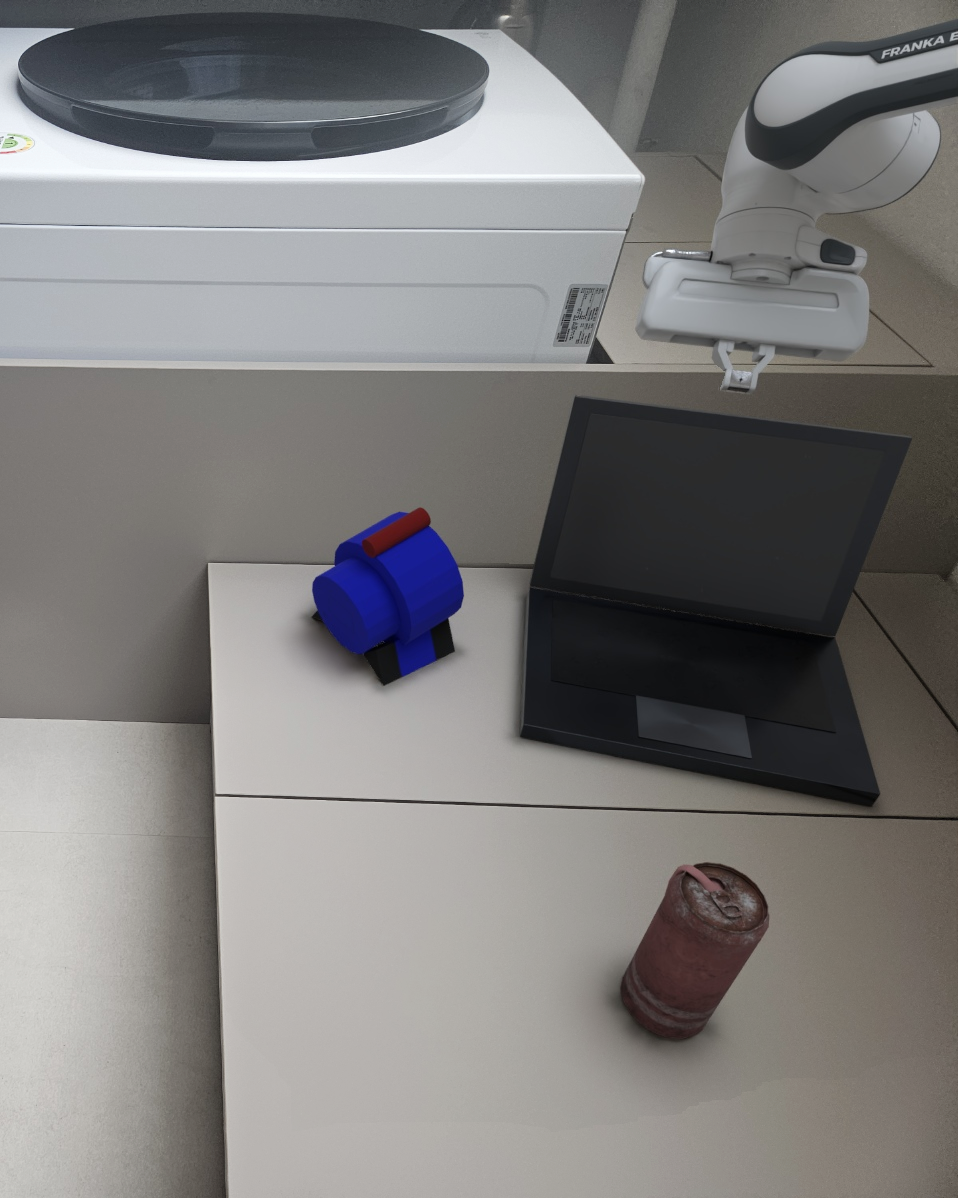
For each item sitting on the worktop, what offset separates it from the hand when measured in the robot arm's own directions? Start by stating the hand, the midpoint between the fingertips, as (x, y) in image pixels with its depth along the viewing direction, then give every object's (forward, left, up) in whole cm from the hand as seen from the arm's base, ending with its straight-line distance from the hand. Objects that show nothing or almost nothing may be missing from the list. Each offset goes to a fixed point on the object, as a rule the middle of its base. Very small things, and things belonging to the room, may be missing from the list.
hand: (736, 391), depth 102 cm
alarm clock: (+30, +20, -23) cm, 43 cm away
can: (+4, +55, -23) cm, 60 cm away
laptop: (0, +20, -23) cm, 30 cm away
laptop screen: (0, +7, -11) cm, 13 cm away
